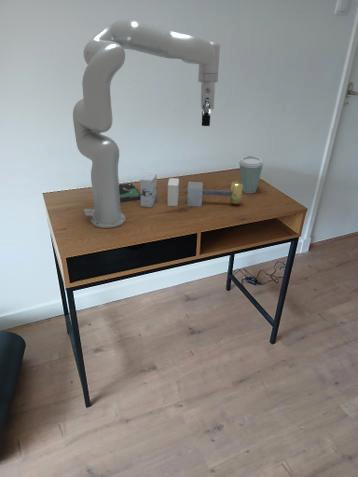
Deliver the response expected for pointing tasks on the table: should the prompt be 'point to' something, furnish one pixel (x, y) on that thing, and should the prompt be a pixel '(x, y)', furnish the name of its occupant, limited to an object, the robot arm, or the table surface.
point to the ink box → (148, 189)
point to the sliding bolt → (226, 192)
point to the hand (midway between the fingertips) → (205, 123)
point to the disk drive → (128, 193)
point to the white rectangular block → (173, 192)
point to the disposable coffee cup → (250, 172)
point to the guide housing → (195, 194)
